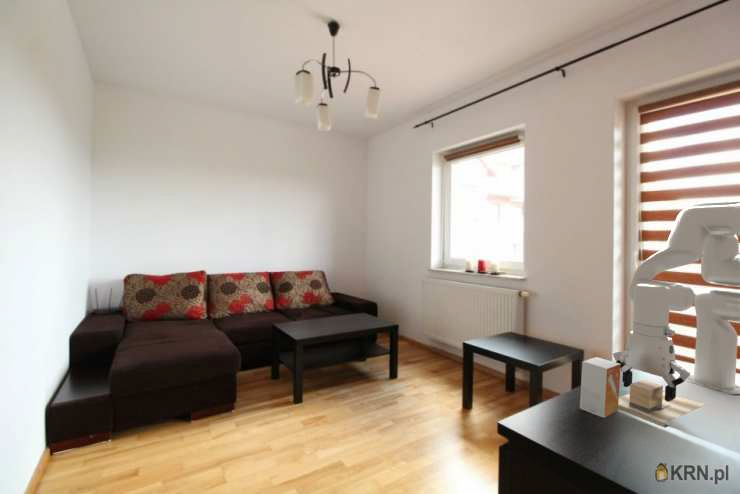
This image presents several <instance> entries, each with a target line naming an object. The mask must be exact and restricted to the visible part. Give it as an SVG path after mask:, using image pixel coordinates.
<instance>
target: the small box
mask: <svg viewBox="0 0 740 494" xmlns="http://www.w3.org/2000/svg"><path fill="white" fill-rule="evenodd" d="M580 377H581V380H580V398H579V409H580V410H582V411H586V412H587V413H590V414H592V415H595V416H598V417H601V418H603V419H605V418H607V417H609V416H611V415H612V414H615V413H616V412H618V411H619V409H618V406H619V405H618V401H619V397H620V385H621V384H620V379H621V364H619V363H616V361H612V360H608V359H605V358H602V357H597V356H596V357H592V358H589V359H586V360H583V361H581V376H580Z"/></svg>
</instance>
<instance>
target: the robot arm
mask: <svg viewBox="0 0 740 494" xmlns="http://www.w3.org/2000/svg"><path fill="white" fill-rule="evenodd" d="M739 235H740V199H729V200H728V199H727V200H707V201H699V202H693V203H691V204H688V205H687V206H686V207H685V209H683V210H682V211H680V212H679V214H678V215H677V216H676V219H675V221H674V224H673V227H672V230H671V232H670V234H669V236H668V239H667V241H666V244H665V247H663V248H662V249H661V250H659V251H657V252H656V253H654V254H652V255H650V256H649V257H648V258H647V259H645V260H643V262H641V263H640V265H638V267H636V270H635V272H634V273H633V277H632V279H631V282H630V284H629V288H628V296H629V299H630V300H631V301H632V302H633V312H632V313H633V316H632V330H631V331H630V332H629V335H628V338H627V341H626V347H625V350H621V351H617V352H614V353H612V355H613V358H614V360H615V362H616V363H619V364H621V368H620V372H622V378H621V379H622V383H623V387H624V388H628V387H630V384H632V383H633V370H632V369H634V370H637V371H640V372H643V373H647V374H650V375H652V376H653V375H654V376H656V377H661V378H662V379H663V380H664V381H665V383H666V385H665V386H664V387H665V389H664V391H665V400H666V401H667V402H669V401H672V400H673V399H675V398H676V395H677V386H679V385H681V384H682V383H685V382H686V380H687V382H688V383H690V384H693V385H697V386H701V387H703V388H708V389H709V390H714V391H717V392H721V393H725V394H728V395H740V386H739V385H737V384H736V375H737V373H736V372H737V371H736V370H737V358H738V357H737V356H738V355H737V354H738V340H739V339H738V338H739V336H738V333H737V331H736V329H735V327H734V326H733V325H732V324H731V322H738V323H740V290H735V289H726V288H715V287H714V288H713V287H708V288H706V287H705V288H702V289H699V290H698V291H697V292H694V290H693V289H692V288H691V287H690V286H688V285H686V284H683V283H679V282H667V281H663V280H662V281H660V280H653V279H654V278H655V277H656V276H657V275H659V274H661V273H663V272H665V271H668V270H671V269H675V268H681V267H684V266H687V265H691V264H694V263H697V262H699V261H700V272H701V273H700V274H701V278H702V280H703V281H705V282H706V283H709V284H712V285H720V286H728V287H738V288H740V253H739V251H740V250H739V249H740V248H739V247H740V243H739V242H740V241H739V238H738V236H739ZM693 305H694V308H695V309H694V310H695V315H696V316H695V317H696V331H695V332H696V333H695V334H696V335H695V337H696V338H695V351H694V352H695V353H694V355H695V356H694V368H693V369H694V371H693V375H691V373H690V372H689V371H688V370H686V369H685V368H683V367H682V366H680V365H679V364H677V363H676V354H675V353H676V352H675V351H676V350H675V347H674V346H675V345H674V340H673V338H672V337H670V336H675V334H676V332H675V331H676V330H673V329H670V325H669V324H670V322H669V320H670V311H671V312H683V311H687V310H689V309H690V308H692V307H693ZM622 357H624V360H623V358H622ZM675 373H678V374H679V376H678V377H677V378H676V377H675V376H674V374H675Z"/></svg>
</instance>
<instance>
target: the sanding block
mask: <svg viewBox="0 0 740 494" xmlns="http://www.w3.org/2000/svg"><path fill="white" fill-rule="evenodd" d="M663 388H664V385H662V384H658V383H655V382H652V381H649V380H646V379H641V380H638V381H635V382H632V384H630V386H629V394H630V401H629V406H631V407H633V408H636V409H638V410H641V411H643V412H646V413H651V412H653V411H656V410H658V409H660V408H662V394H663V391H664V389H663Z"/></svg>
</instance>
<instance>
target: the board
mask: <svg viewBox="0 0 740 494" xmlns="http://www.w3.org/2000/svg"><path fill="white" fill-rule="evenodd" d="M629 401H630V393H628V394H625V395H621V396H619V401H618V411H619V410H620V411H622V412H624V413H627V414H630V415H631V416H634V417H637V418H639V419H642V420H644V421H647V422H649V423H652V424H655V425H657V426H660V427H662V428H667V427H669V425H668V424H666V423H668V422H671V421H672V420H675V419H677V418H679V417H681V416H683V415H685V414H688V413H690V412H692V411H694V410H696V409H698V408H701V407H703V406H705V403H701V402H698V401H695V400H692V399H689V398H687V397H683V396H680V395H677V394H676V398H675V399H673V400H672V401H669V402H667V401H666V400H665V390H663V394H662V408H660V409H658V410H656V411H653V412H651V413H646V412H643V411H641V410H638V409H636V408H633V407H631V406H629Z"/></svg>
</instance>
